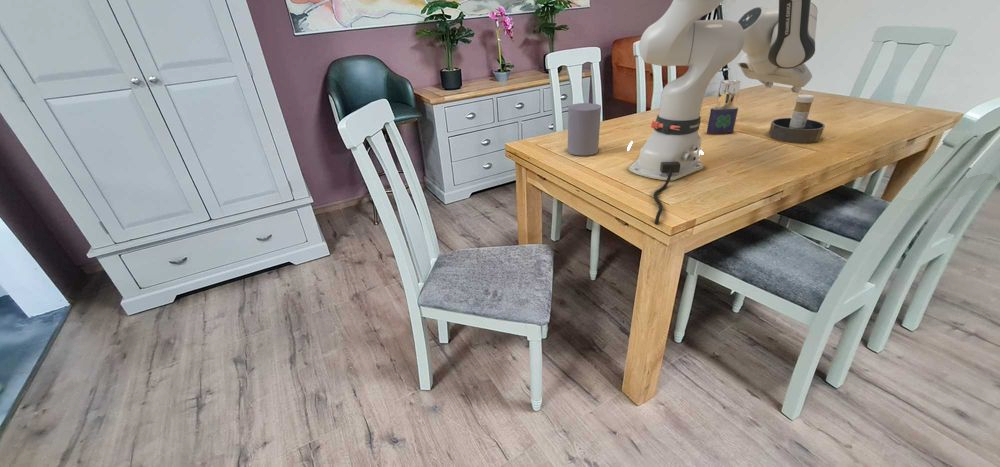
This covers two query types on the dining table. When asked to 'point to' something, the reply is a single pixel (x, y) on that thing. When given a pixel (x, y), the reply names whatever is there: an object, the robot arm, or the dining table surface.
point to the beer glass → (728, 93)
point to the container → (583, 129)
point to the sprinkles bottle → (801, 111)
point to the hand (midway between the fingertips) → (783, 88)
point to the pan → (796, 131)
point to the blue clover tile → (722, 120)
